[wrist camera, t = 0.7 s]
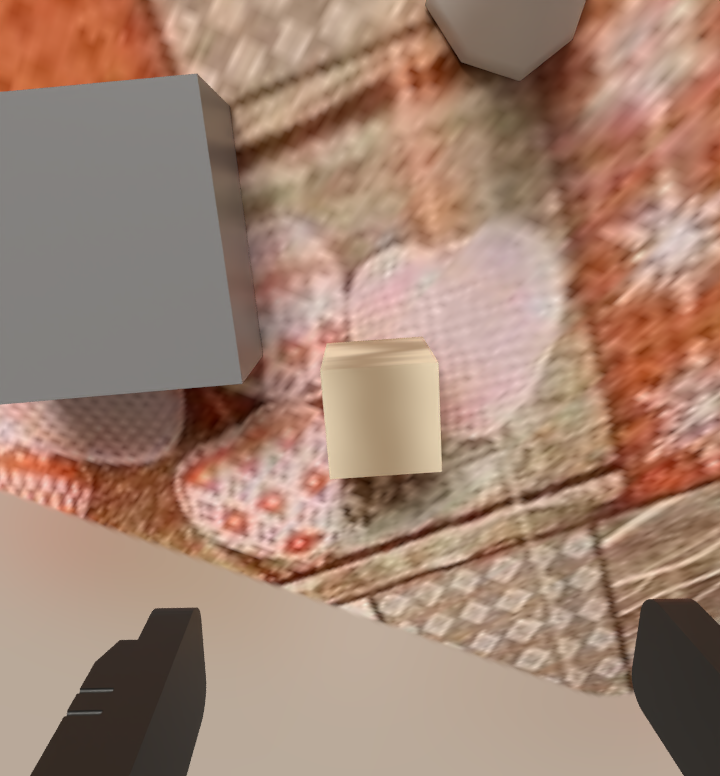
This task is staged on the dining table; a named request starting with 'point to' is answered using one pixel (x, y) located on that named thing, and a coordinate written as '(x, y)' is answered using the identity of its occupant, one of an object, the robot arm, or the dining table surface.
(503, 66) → the flask
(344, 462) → the birch block
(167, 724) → the robot arm
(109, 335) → the grey box
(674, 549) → the dining table surface
